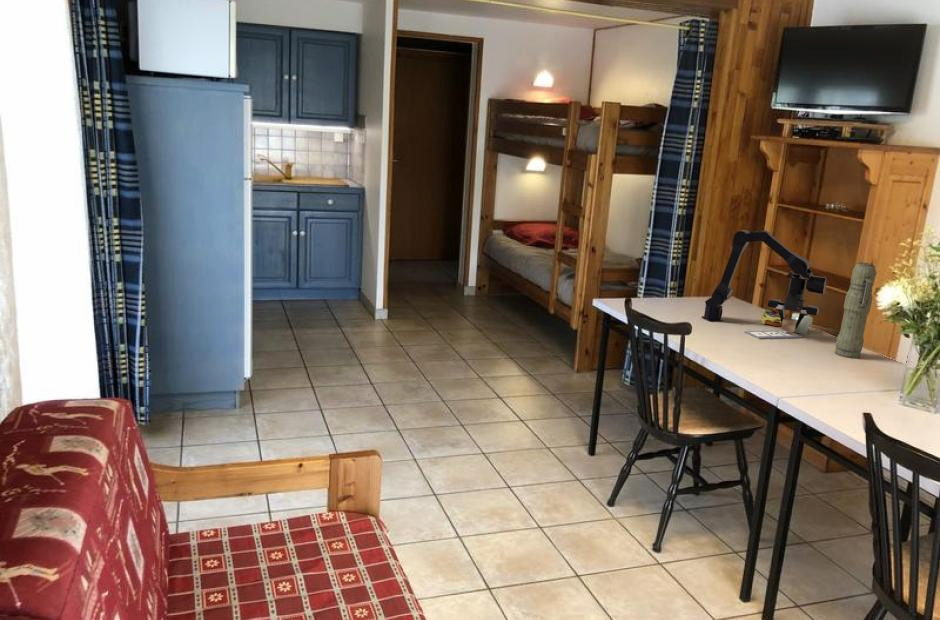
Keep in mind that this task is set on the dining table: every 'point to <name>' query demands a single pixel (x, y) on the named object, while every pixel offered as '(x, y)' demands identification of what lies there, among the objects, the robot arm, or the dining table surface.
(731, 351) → the dining table surface
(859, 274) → the thermos
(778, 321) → the cheeseburger
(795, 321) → the brown wooden block
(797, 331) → the mug
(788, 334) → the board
